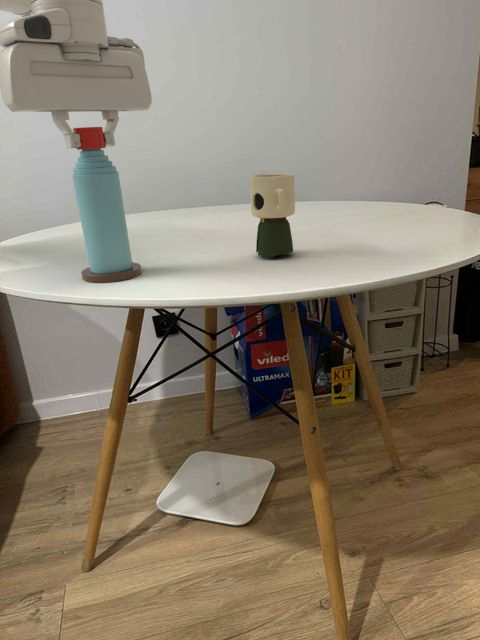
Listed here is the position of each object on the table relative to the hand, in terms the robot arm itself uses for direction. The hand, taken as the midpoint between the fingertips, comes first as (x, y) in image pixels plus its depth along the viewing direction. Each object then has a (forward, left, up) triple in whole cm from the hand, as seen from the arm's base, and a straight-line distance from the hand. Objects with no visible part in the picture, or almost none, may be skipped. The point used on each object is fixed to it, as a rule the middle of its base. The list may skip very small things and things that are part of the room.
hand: (91, 147), depth 71 cm
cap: (0, 0, +2) cm, 2 cm away
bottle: (0, 0, -17) cm, 17 cm away
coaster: (0, 0, -18) cm, 18 cm away
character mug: (+12, +24, -19) cm, 33 cm away
